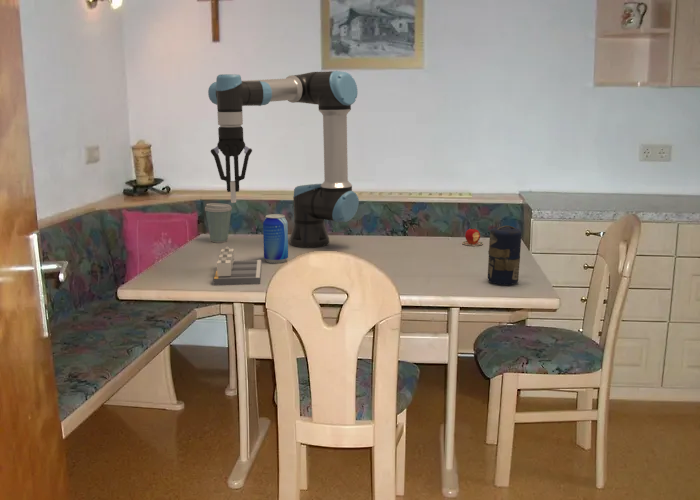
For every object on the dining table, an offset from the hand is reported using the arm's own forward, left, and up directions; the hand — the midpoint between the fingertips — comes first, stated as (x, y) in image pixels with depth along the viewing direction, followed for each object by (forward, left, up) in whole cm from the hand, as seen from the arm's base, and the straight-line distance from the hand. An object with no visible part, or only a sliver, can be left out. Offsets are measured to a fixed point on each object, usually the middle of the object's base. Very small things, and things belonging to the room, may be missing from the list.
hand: (233, 202), depth 218 cm
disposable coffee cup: (+9, -53, -24) cm, 59 cm away
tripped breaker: (+3, 0, -21) cm, 22 cm away
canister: (-83, +17, -24) cm, 88 cm away
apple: (-89, -38, -24) cm, 100 cm away
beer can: (-13, -18, -24) cm, 32 cm away
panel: (-1, 0, -24) cm, 24 cm away
